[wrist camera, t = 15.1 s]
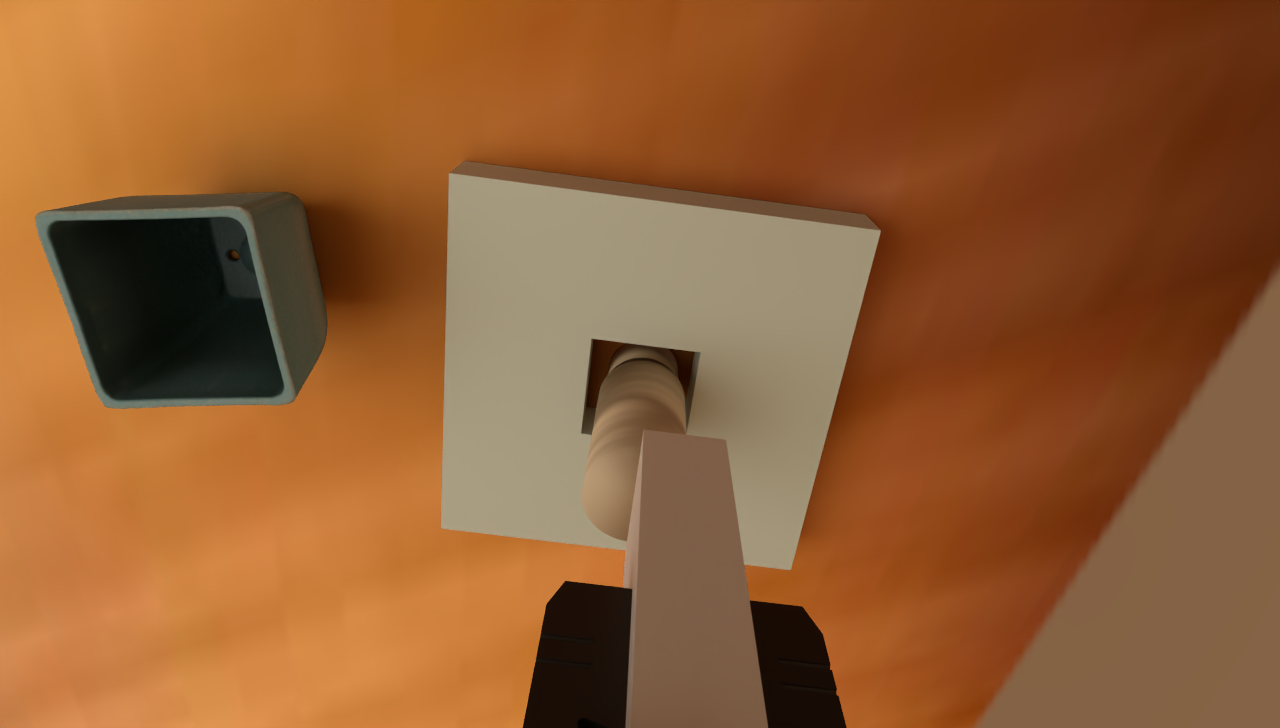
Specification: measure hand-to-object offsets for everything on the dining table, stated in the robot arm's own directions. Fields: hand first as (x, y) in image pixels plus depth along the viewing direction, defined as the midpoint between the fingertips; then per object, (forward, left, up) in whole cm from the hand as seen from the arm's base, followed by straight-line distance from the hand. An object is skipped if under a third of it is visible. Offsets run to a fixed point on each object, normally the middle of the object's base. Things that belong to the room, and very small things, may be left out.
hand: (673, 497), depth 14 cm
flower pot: (-20, -6, -27) cm, 34 cm away
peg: (0, -10, -26) cm, 28 cm away
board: (0, -10, -26) cm, 28 cm away
